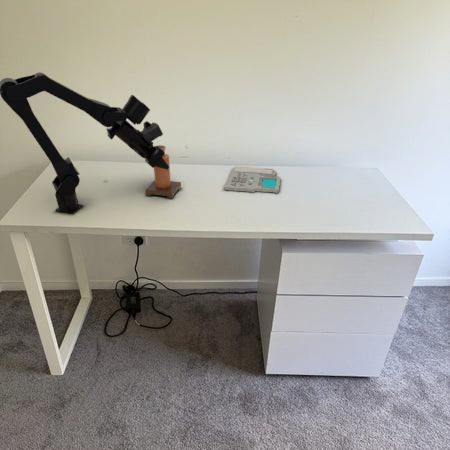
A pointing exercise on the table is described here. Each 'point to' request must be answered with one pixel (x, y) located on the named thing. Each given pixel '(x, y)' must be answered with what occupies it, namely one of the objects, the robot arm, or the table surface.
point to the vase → (162, 172)
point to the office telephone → (253, 180)
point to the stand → (165, 191)
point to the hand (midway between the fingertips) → (165, 165)
